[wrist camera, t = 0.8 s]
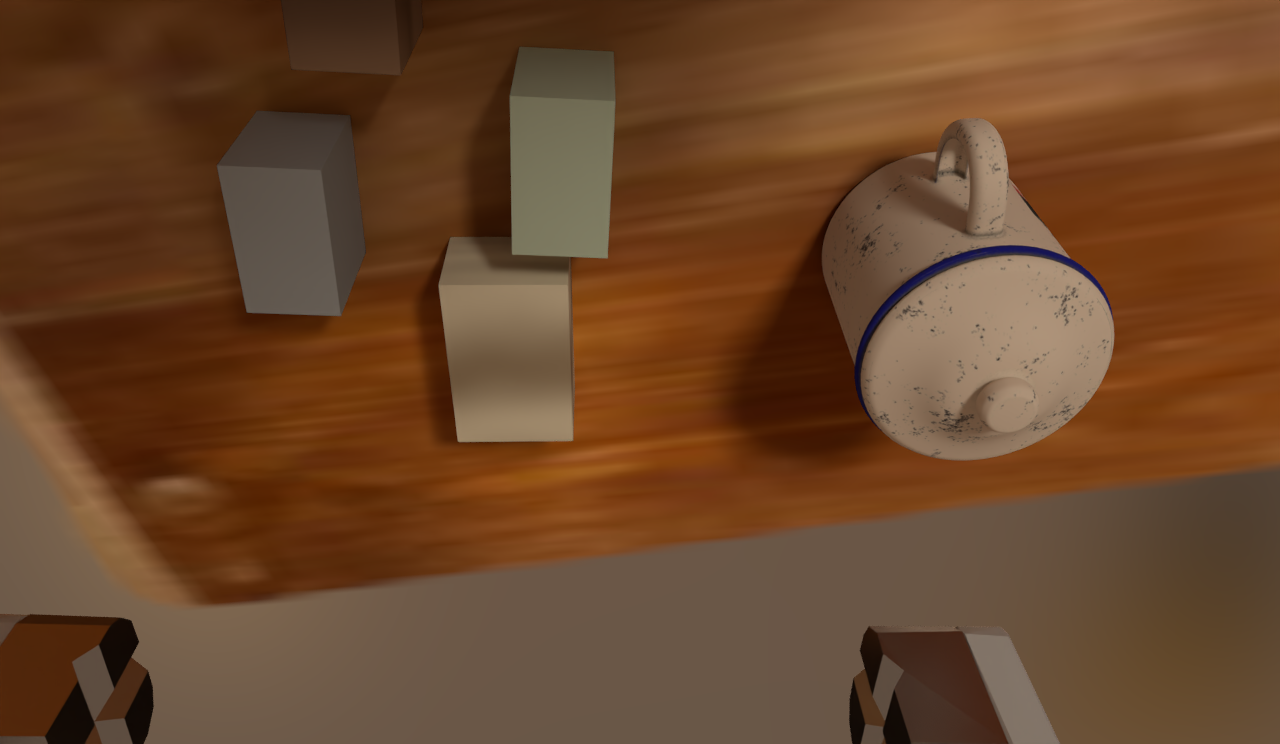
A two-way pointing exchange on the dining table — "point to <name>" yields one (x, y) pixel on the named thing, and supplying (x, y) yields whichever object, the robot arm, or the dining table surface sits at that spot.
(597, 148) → the sage block
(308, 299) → the grey block
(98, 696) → the robot arm
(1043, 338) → the teacup with lid
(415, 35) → the walnut block
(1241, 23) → the dining table surface
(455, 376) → the maple block
